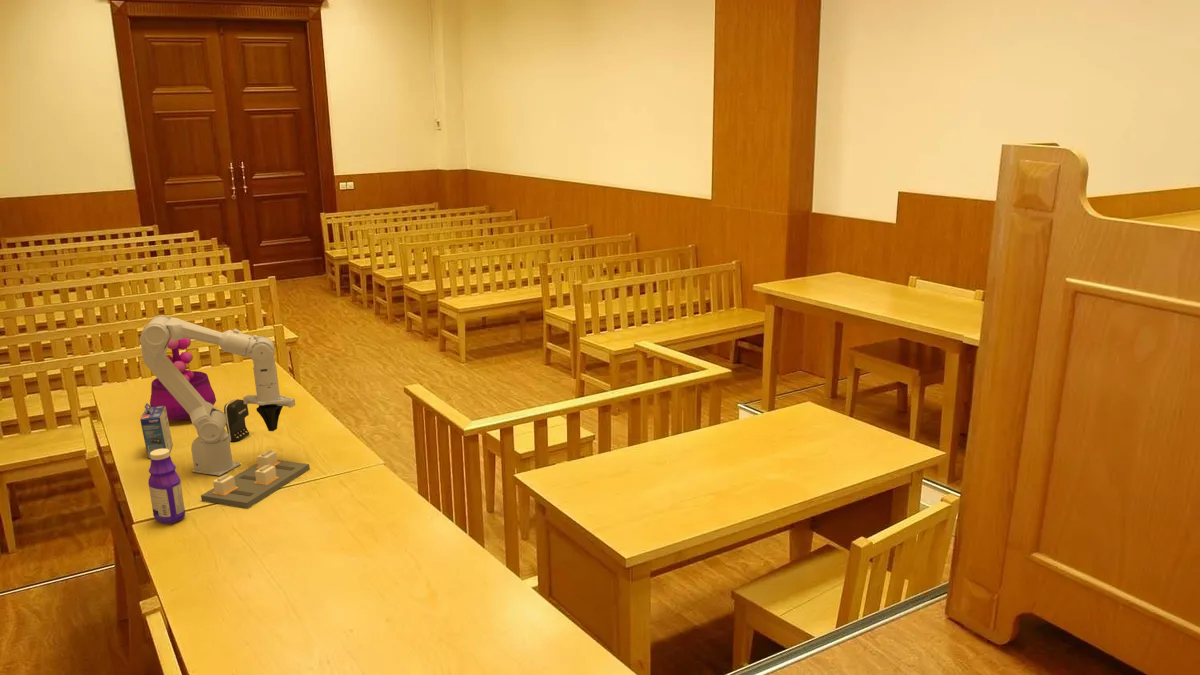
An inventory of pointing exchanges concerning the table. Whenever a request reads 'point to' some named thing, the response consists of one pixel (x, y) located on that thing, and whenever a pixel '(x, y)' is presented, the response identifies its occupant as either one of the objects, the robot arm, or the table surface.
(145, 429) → the ink cartridge box
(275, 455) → the switch
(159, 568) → the table surface
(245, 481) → the switch board
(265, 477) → the switch
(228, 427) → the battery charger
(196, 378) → the decorative plant
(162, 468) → the bottle
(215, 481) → the switch
